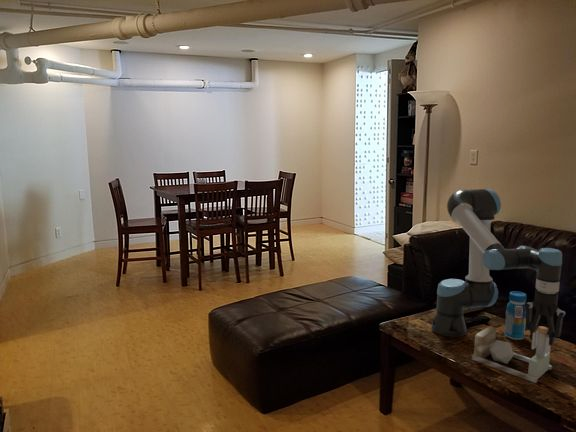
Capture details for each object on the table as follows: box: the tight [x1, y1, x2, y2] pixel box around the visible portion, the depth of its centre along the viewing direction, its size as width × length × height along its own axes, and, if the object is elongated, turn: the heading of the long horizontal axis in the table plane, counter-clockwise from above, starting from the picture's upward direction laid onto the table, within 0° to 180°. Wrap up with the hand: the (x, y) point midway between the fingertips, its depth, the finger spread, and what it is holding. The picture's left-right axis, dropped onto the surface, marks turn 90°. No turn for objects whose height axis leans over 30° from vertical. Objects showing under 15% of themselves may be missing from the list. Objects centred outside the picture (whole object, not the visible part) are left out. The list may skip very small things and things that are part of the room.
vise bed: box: [471, 326, 553, 384], centre depth 184 cm, size 24×15×10 cm, turn 42°
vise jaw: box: [527, 325, 551, 379], centre depth 176 cm, size 4×12×18 cm, turn 132°
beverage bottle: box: [503, 290, 527, 341], centre depth 208 cm, size 8×8×20 cm
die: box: [490, 339, 515, 365], centre depth 187 cm, size 8×9×10 cm
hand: (540, 350), depth 176 cm, fingers open, 4 cm apart
